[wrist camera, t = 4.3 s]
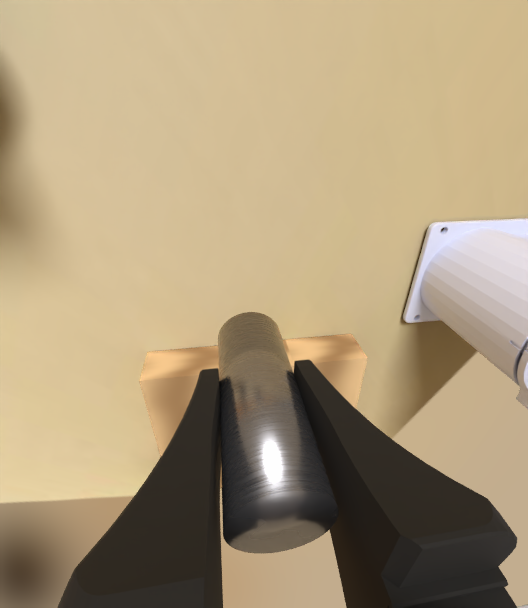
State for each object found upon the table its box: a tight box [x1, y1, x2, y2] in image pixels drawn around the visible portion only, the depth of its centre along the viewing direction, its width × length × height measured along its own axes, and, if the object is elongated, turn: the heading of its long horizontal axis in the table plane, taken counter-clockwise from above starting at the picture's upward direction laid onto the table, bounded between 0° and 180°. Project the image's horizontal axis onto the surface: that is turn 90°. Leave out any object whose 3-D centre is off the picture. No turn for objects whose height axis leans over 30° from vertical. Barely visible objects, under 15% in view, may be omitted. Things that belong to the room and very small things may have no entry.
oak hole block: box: [139, 334, 368, 488], centre depth 26 cm, size 16×14×3 cm
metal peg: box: [218, 312, 339, 553], centre depth 11 cm, size 3×3×8 cm
